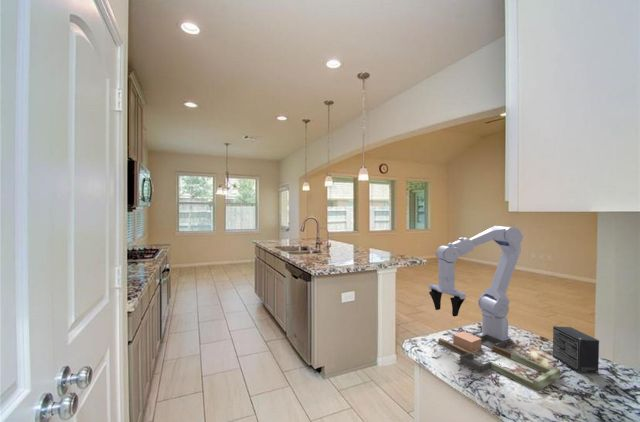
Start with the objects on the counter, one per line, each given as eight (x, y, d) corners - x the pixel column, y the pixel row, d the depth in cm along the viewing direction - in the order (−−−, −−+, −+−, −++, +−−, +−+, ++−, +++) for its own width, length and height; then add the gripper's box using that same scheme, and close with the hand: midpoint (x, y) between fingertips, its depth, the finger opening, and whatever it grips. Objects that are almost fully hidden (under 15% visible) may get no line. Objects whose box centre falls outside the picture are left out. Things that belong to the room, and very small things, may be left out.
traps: (485, 339, 110) (485, 333, 110) (523, 354, 98) (523, 348, 98) (443, 354, 98) (443, 348, 98) (480, 373, 86) (480, 366, 86)
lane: (461, 335, 113) (461, 329, 113) (560, 377, 85) (560, 369, 85) (438, 342, 106) (438, 336, 106) (537, 391, 78) (537, 382, 78)
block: (463, 341, 108) (463, 331, 108) (481, 349, 102) (481, 338, 102) (453, 345, 105) (453, 334, 105) (471, 353, 99) (471, 342, 99)
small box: (600, 374, 87) (601, 340, 87) (579, 373, 87) (579, 339, 87) (570, 356, 97) (571, 326, 97) (551, 356, 98) (552, 325, 97)
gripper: (424, 274, 114) (423, 308, 114) (457, 282, 101) (456, 321, 101) (435, 272, 117) (435, 305, 117) (469, 280, 104) (468, 317, 105)
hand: (446, 312), depth 109 cm, fingers open, 7 cm apart
